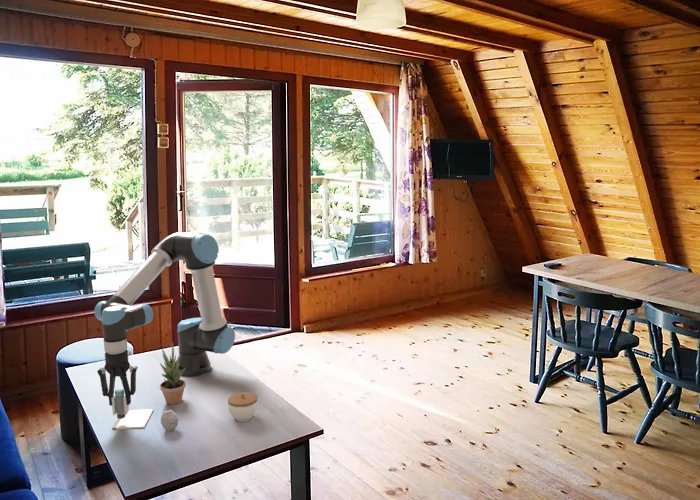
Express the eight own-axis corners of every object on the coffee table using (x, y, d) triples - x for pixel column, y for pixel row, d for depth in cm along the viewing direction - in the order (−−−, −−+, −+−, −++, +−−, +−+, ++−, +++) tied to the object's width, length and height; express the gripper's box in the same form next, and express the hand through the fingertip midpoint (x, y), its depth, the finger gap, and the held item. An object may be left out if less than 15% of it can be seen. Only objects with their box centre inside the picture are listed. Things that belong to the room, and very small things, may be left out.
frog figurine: (173, 423, 213) (172, 405, 212) (182, 430, 208) (181, 412, 207) (157, 429, 209) (156, 410, 208) (166, 436, 204) (165, 417, 203)
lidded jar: (230, 411, 223) (229, 388, 221) (259, 410, 224) (258, 387, 222) (227, 425, 212) (225, 400, 211) (257, 423, 213) (256, 399, 211)
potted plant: (163, 408, 226) (159, 346, 221) (159, 399, 234) (155, 339, 230) (190, 403, 230) (186, 342, 226) (184, 394, 239) (181, 335, 234)
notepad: (153, 410, 224) (153, 409, 224) (144, 428, 210) (144, 426, 210) (123, 411, 223) (123, 410, 223) (112, 429, 209) (112, 427, 209)
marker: (126, 414, 214) (124, 388, 212) (124, 418, 211) (122, 392, 209) (118, 415, 213) (116, 389, 211) (115, 419, 210) (113, 392, 208)
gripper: (142, 346, 212) (147, 407, 216) (95, 347, 210) (100, 409, 214) (137, 353, 204) (141, 416, 209) (88, 355, 203) (93, 419, 207)
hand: (121, 413), depth 212 cm, fingers open, 3 cm apart
